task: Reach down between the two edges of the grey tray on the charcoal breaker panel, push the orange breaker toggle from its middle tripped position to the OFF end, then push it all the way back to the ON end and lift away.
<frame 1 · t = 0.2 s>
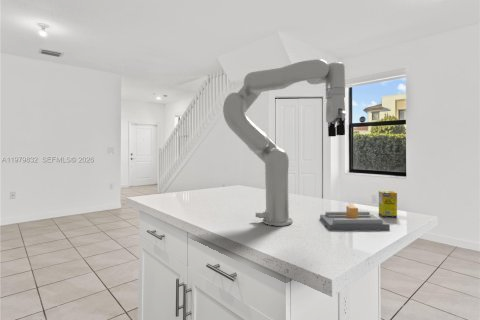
hand: (336, 135, 113), 36 cm above the counter, tool pointing down, fingers open, 9 cm apart
breaker toggle: (352, 212, 111), point 5 cm above the counter, slide at 5.0 cm
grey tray: (352, 217, 111), point 2 cm above the counter
breaker panel: (352, 224, 111), on the counter
supplement box: (387, 216, 123), on the counter
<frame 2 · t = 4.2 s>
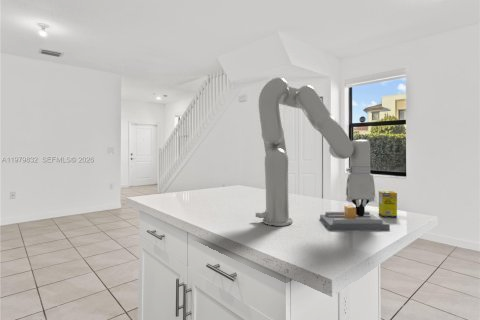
hand: (360, 215, 111), 3 cm above the counter, tool pointing down, fingers closed
breaker toggle: (350, 212, 111), point 5 cm above the counter, slide at 4.2 cm, touching gripper
everything else where it was.
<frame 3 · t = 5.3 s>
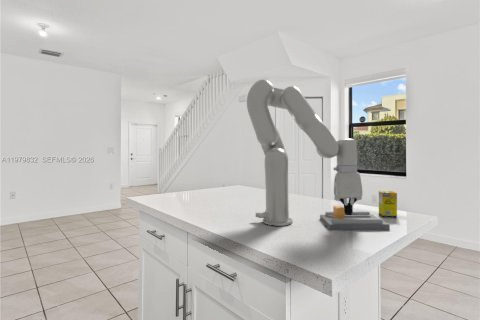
hand: (348, 214, 111), 4 cm above the counter, tool pointing down, fingers closed
breaker toggle: (338, 212, 111), point 5 cm above the counter, slide at -0.3 cm, touching gripper
everything else where it was.
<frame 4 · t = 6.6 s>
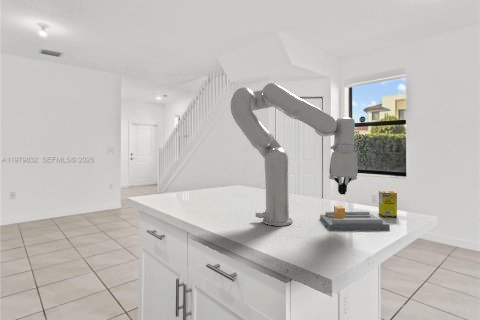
hand: (342, 193, 111), 12 cm above the counter, tool pointing down, fingers closed
breaker toggle: (339, 212, 111), point 5 cm above the counter, slide at -0.1 cm
everything else where it was.
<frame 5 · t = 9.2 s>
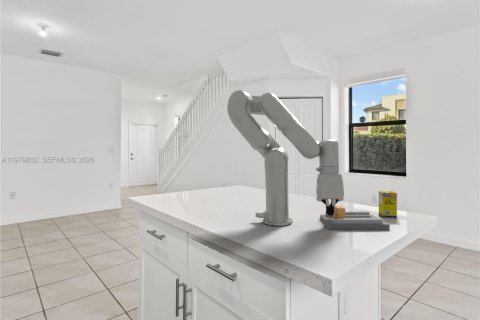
hand: (330, 215, 111), 4 cm above the counter, tool pointing down, fingers closed
breaker toggle: (339, 212, 111), point 5 cm above the counter, slide at 0.0 cm, touching gripper
everything else where it was.
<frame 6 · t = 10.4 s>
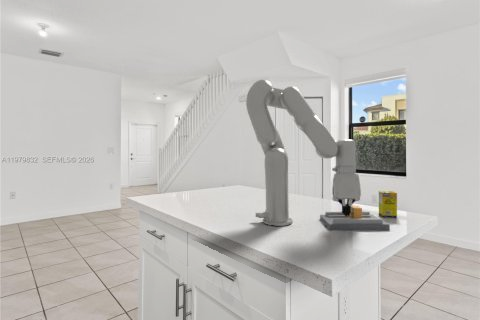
hand: (346, 215, 111), 4 cm above the counter, tool pointing down, fingers closed
breaker toggle: (355, 212, 111), point 5 cm above the counter, slide at 6.5 cm, touching gripper
everything else where it was.
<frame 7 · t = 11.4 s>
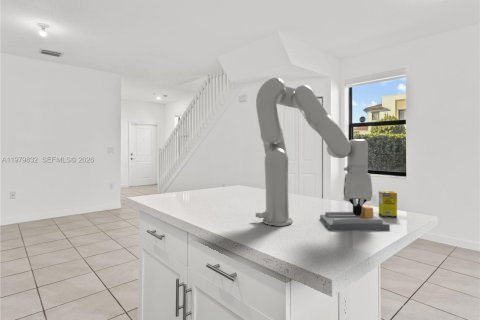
hand: (357, 215, 111), 4 cm above the counter, tool pointing down, fingers closed
breaker toggle: (366, 212, 111), point 5 cm above the counter, slide at 10.8 cm, touching gripper
everything else where it was.
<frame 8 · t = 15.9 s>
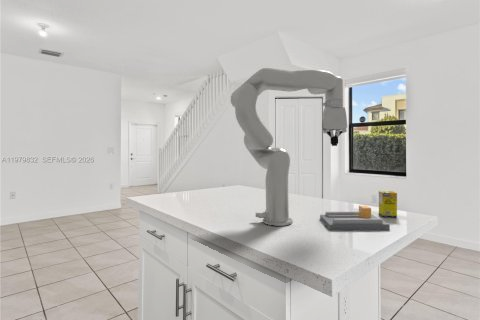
hand: (334, 145, 124), 32 cm above the counter, tool pointing down, fingers closed
breaker toggle: (364, 212, 111), point 5 cm above the counter, slide at 10.1 cm
everything else where it was.
at the end: breaker toggle slide at 10.1 cm; supplement box moved 0.2 cm from its start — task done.
